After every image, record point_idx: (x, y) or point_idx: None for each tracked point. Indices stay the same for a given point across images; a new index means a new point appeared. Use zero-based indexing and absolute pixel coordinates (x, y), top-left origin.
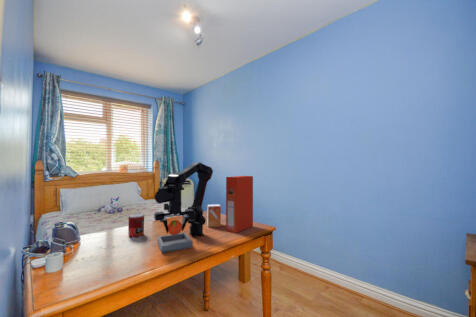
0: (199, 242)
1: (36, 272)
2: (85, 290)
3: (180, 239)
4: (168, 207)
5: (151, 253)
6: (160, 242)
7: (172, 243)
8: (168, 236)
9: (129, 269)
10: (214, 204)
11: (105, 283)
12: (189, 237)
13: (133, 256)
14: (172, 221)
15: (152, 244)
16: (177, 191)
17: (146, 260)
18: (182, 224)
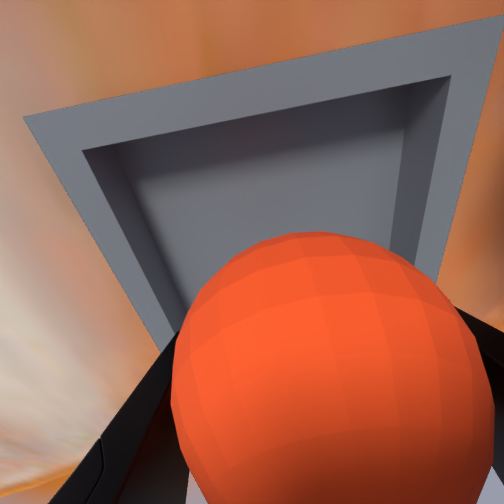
0: (496, 222)
1: None
2: (11, 479)
3: (354, 137)
4: None
5: (116, 328)
6: (145, 319)
7: (255, 236)
8: (201, 124)
9: (78, 428)
10: None
11: (47, 467)
12: (441, 260)
13: (10, 343)
14: None
15: (36, 155)
16: None
17: (121, 387)
18: (493, 400)
